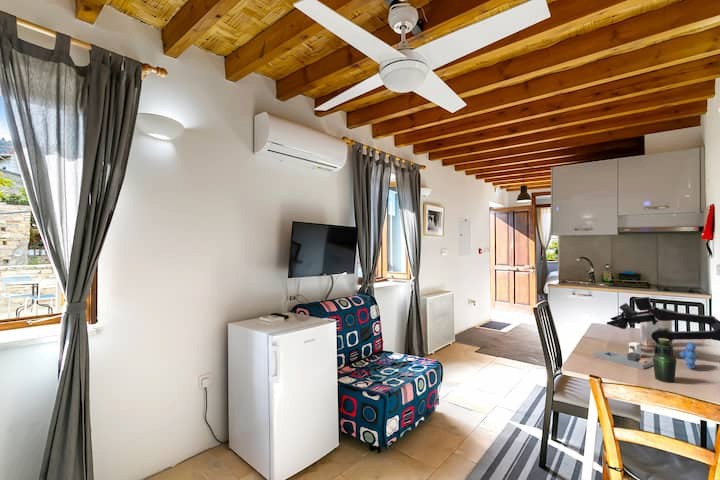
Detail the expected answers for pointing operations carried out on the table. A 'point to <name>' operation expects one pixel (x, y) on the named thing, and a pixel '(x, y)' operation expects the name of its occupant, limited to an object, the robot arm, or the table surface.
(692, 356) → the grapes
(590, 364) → the table surface
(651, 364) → the gray block with hole
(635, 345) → the plug
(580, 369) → the table surface
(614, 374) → the table surface
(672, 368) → the potion bottle
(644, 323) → the cracker box
